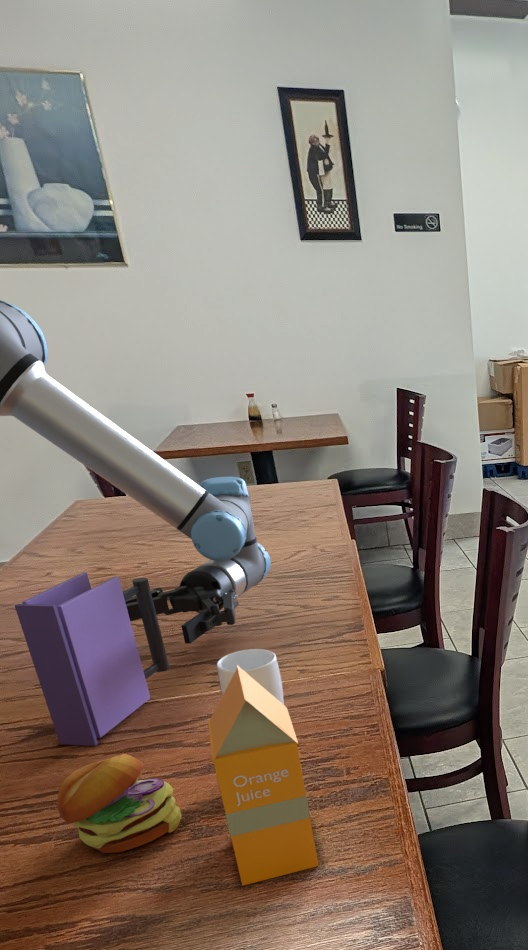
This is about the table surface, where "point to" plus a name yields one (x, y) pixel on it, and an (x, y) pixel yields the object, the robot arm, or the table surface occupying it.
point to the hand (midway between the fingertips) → (140, 633)
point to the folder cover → (112, 649)
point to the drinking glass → (252, 670)
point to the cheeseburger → (117, 805)
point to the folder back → (57, 660)
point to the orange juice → (261, 782)
